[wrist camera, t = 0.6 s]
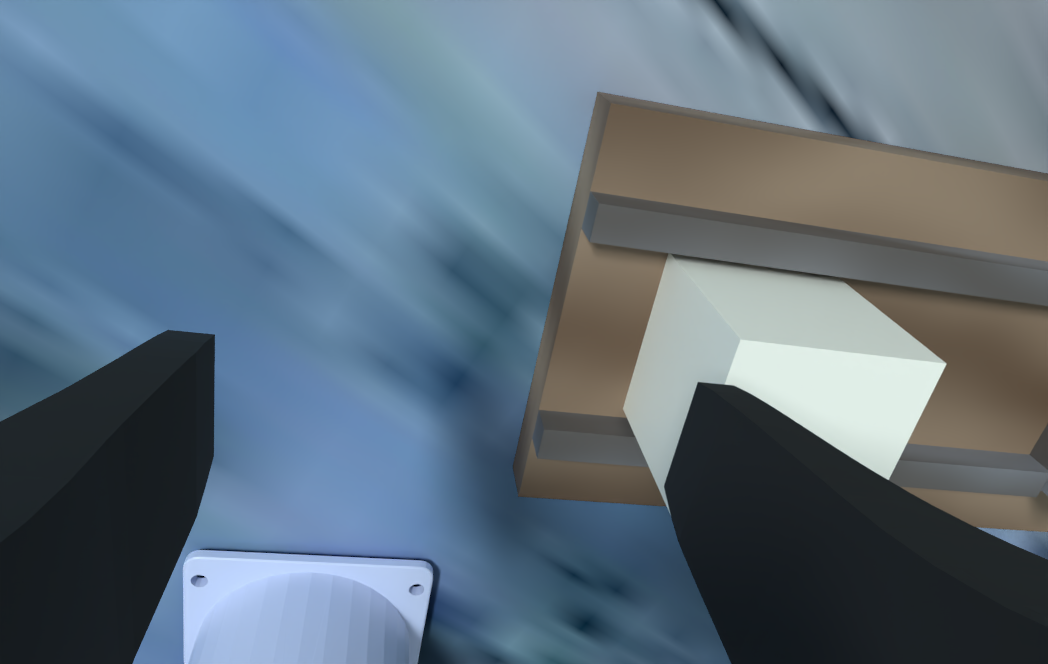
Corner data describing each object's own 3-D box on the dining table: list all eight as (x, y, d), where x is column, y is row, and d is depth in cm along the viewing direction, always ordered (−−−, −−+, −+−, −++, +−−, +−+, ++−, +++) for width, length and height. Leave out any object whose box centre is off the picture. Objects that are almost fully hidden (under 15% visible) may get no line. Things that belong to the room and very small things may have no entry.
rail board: (1070, 508, 29) (1174, 598, 25) (512, 466, 25) (532, 567, 21) (1260, 212, 24) (1429, 267, 20) (597, 91, 19) (644, 131, 15)
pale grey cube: (776, 422, 23) (860, 536, 19) (622, 408, 22) (674, 524, 18) (835, 275, 21) (946, 363, 17) (668, 251, 20) (740, 339, 16)
